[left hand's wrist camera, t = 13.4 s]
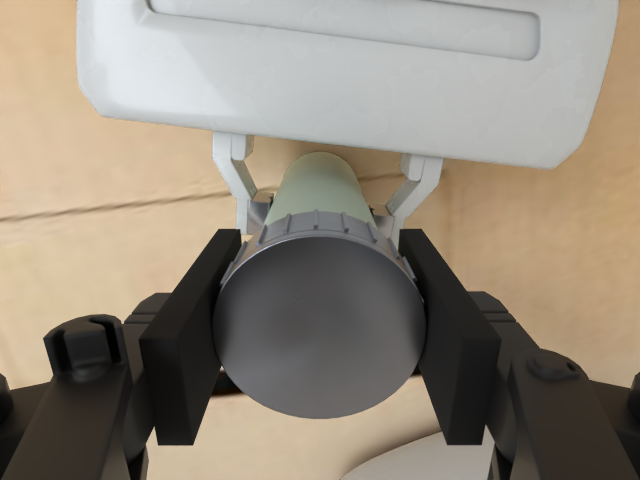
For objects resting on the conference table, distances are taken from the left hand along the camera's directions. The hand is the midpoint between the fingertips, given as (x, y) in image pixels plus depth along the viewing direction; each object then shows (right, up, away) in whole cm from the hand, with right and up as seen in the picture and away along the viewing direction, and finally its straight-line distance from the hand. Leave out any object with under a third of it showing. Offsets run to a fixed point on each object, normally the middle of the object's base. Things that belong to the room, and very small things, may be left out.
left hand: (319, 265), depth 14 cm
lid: (0, -1, -4) cm, 4 cm away
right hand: (0, +1, +5) cm, 5 cm away
